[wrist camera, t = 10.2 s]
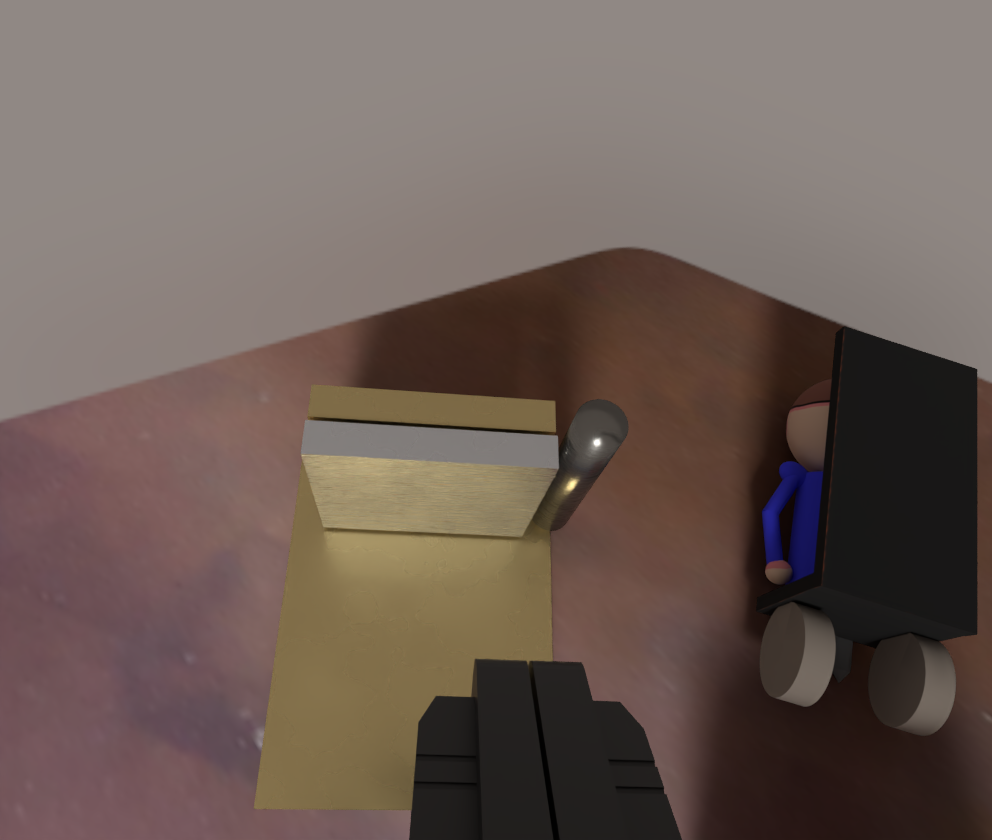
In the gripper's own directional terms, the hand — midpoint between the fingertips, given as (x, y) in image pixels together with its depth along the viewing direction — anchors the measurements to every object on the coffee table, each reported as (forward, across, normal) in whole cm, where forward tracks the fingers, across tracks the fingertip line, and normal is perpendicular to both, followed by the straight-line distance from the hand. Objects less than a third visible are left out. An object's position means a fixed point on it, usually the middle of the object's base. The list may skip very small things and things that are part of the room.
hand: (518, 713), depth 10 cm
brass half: (+18, +2, +10) cm, 21 cm away
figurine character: (+21, -16, +8) cm, 28 cm away
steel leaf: (+20, +2, +7) cm, 21 cm away
